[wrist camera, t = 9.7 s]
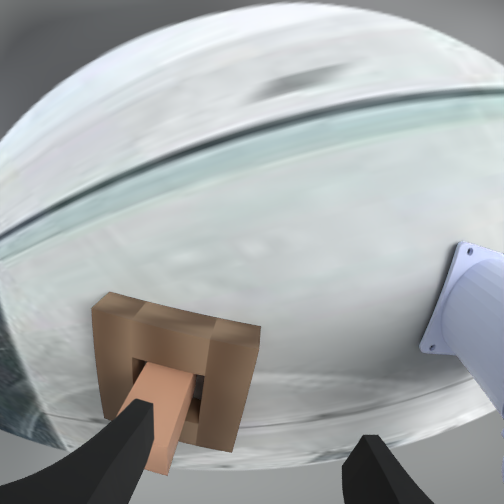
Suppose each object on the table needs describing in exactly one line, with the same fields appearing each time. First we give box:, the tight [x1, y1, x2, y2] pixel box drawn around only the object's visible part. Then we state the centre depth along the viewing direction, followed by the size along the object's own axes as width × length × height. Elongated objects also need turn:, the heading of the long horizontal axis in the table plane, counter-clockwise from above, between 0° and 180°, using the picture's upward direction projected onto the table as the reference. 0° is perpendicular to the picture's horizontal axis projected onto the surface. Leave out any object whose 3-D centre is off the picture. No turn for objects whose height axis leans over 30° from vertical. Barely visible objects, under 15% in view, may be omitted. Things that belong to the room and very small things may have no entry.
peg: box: [116, 362, 197, 476], centre depth 16 cm, size 3×3×8 cm
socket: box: [91, 292, 261, 453], centre depth 19 cm, size 10×10×2 cm
